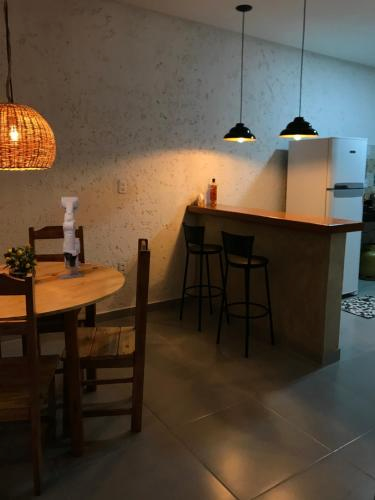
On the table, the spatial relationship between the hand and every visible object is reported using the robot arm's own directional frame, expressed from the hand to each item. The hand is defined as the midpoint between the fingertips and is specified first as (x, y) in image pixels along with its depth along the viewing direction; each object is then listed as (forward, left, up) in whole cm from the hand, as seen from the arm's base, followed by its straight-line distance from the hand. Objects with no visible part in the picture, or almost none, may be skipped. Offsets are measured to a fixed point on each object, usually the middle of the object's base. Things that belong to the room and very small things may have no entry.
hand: (70, 265), depth 233 cm
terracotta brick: (-7, +4, -6) cm, 10 cm away
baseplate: (0, 0, -6) cm, 6 cm away
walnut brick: (0, 0, -2) cm, 2 cm away
